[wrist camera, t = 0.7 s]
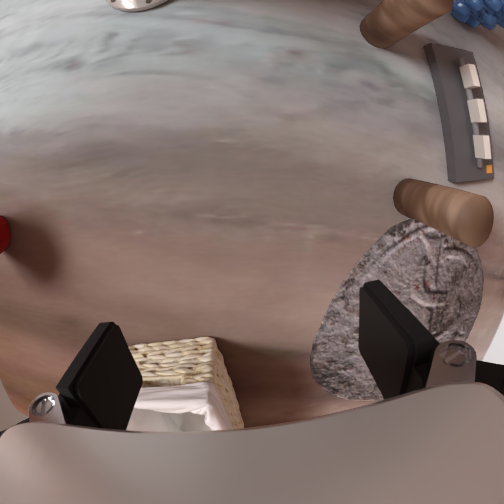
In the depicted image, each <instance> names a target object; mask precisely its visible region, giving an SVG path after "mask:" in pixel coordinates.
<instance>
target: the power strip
mask: <svg viewBox="0 0 504 504" xmlns="http://www.w3.org/2000/svg"><path fill="white" fill-rule="evenodd" d="M424 49H425V53H426V56H427V59H428V63H429V67H430V70H431V74H432V78H433V82H434V87H435V91H436V96H437V100H438V105H439V111H440V116H441V122H442V128H443V135H444V142H445V151H446V160H447V171H448V181H451V182H456V183H458V182H466V181H474V180H483V179H492V178H494V171H493V157H492V146H491V137H490V130H489V123H488V116H487V110H486V105H485V100H484V95H483V90H482V86H481V82H480V78H479V74H478V70H477V66H476V63H475V59H474V56H473V52H469V51H465V50H461V49H457V48H453V47H448V46H443V45H438V44H433V43H430V44H428V45H426V46H424ZM458 58H464V62H465V65H466V64H474V65H475V67H476V71H477V75H478V79H479V83H480V87H477V88H473V89H472V94H473V99H483V101H484V107H485V112H486V118H487V122H483V123H478V127H479V135H489V139H490V149H491V159H482V164H483V167H482V168H479V167H477V164H476V157H475V150H474V141H473V128H472V123H471V120H470V114H469V108H468V103H467V100H468V99H467V95H466V90H465V88H464V84H463V80H462V76H461V72H460V68H459V67H460V66H459V62H458Z"/></svg>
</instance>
